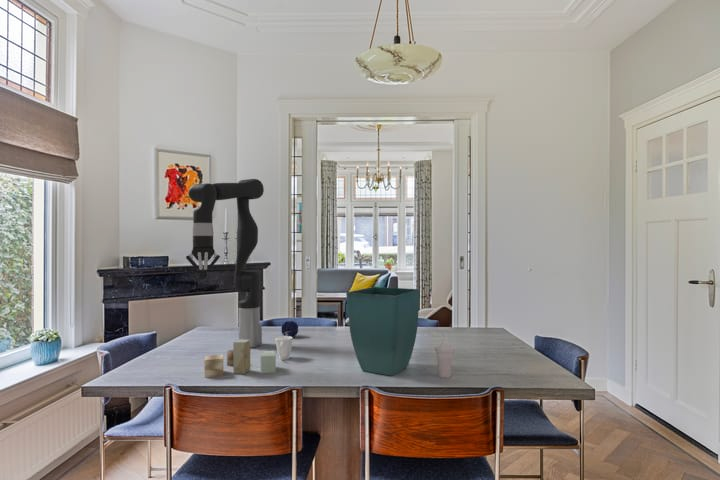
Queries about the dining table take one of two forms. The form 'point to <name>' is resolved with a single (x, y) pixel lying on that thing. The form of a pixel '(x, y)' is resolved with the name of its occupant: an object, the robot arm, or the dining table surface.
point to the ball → (290, 329)
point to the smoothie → (444, 359)
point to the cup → (284, 346)
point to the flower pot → (383, 327)
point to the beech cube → (213, 365)
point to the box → (241, 356)
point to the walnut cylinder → (230, 358)
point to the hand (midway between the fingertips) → (203, 279)
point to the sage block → (267, 362)
